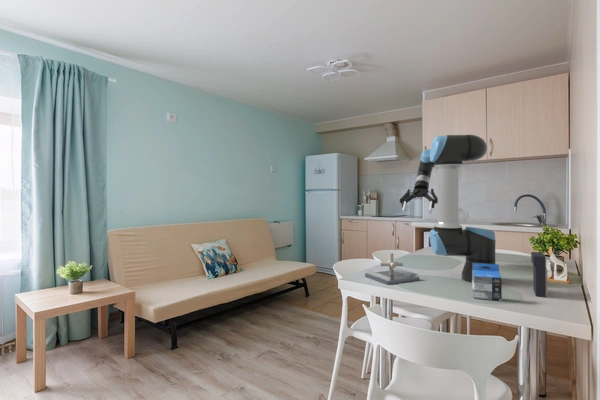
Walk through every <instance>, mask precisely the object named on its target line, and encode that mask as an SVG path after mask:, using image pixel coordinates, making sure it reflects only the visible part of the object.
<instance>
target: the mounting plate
mask: <svg viewBox="0 0 600 400" xmlns="http://www.w3.org/2000/svg"><path fill="white" fill-rule="evenodd" d="M393 270H394V275H389V270H384V271H383V270H382V271H373V270H371V269H366V273H364V277H365V278H368V279H371V280H373V281H376V282H379V283H381V284H384V285H393V284H401V283H408V282H414V281H415V282H416V281H420V276H419V273H417V272H413V271H409V270H406V269H403V268H399V267H397V266H396V267H395V268H393Z"/></svg>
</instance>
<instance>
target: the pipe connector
mask: <svg viewBox="0 0 600 400" xmlns="http://www.w3.org/2000/svg"><path fill="white" fill-rule="evenodd" d="M379 266H380V267H388V268H389V269H388V271H389V275H394V270H393V268H395V267H396V268H397V267H403V266H404V263H403V262H402V261H401V262H398V261H396V262H395V261H394V253H393V252H389V257H388V260H387V261H380V262H379Z"/></svg>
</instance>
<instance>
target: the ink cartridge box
mask: <svg viewBox="0 0 600 400" xmlns="http://www.w3.org/2000/svg"><path fill="white" fill-rule="evenodd" d="M485 266H487V267H490V269H485V268H481V267H485ZM472 267H473V269H472V282H471V295H472V297H473V299H475V300H476V299H477V300H486V301H487V300H488V301H489V300H490V301H500V302H502V300H503V299H502V297H503V293H502V290H503V289H502V288H503V287H502V284H503V281H502V280H503V279H502V275H501V273H500V264H499V263H498V264H497V263H496V264H482V263H472Z"/></svg>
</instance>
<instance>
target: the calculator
mask: <svg viewBox="0 0 600 400" xmlns="http://www.w3.org/2000/svg"><path fill="white" fill-rule="evenodd" d="M530 252H531V253H530V254H531V256H530V257H531V259H530V260H531V263H532V265H533V266H532V267H533V268H532V269H533V270H532V271H533V272H532V273H533V274H532V275H533V282H532V285H533V286H532V287H533V292H534V295H535V296H536V297H539V298H540V297H541V298H546V297H547V296H548V289H549V288H548V275H549V274H548V268H547V257H546V255H545V253H543V252H542V251H541V252H540V251H530Z"/></svg>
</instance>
